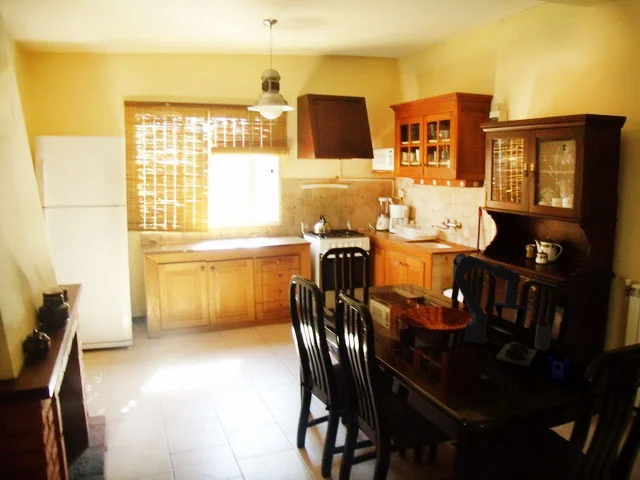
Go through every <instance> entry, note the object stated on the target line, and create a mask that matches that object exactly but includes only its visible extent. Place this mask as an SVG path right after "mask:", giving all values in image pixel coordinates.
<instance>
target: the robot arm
mask: <svg viewBox="0 0 640 480" xmlns="http://www.w3.org/2000/svg"><path fill="white" fill-rule="evenodd" d="M452 265H453V266H452V277H453V280H454V282H455V283H456V285H457V287H458V289H459V291H460V292H461V295H462V296H463V298H464V300H465V302H466V304H467V306H468V310H469V312H470V315H469V316H470V317H471V320H470V321H467V322H466V324H465V329H464V340H463V341H464V342H468V343H472V344H477V345H483V346H484V345H485V344H486V343H487V342H488V339H487V337H486V335H487V326H488V325H487V324H489V322H490V321H489V320H490V317H489V315H488V314H487V312H484V310H483V308H482V306H481V305H480V304H479V302H478V300H477V297H476V296H475V294H474V293H473V290H472V288H471V286H470V285H469V284H470V283H469V282H468V281H467V279H466V275H467V273H468V272H469V271H470V270H471V269H475V268H480V269H482V270H485V271H487V272H490V273H491V275H492V276H493V277H496V278H498V279H501V280H503V281H505V289H504V297H503V302H501V301H499V302H498V301H494V303H493V307H494V308H495V310H496V313H497V315H498V323H501V322H502V320H503V318H502V317H503V316H502V315H503V308H505V309H511V310H516V320H515V325H516V326H518V325H519V322H520V318H521V316H522V315H523V312H526V311H527V306H526V305H525V306H524V305H522V304H521V305H520V304H517V303H518V293H519V284H520V283H521V282H522V278H521V275H520V274H519V273H518V272H516V271H515V270H513V269H512V268H508V267H505V266H504V265H503V264H501V263H500V264H495V265H493V264H490V263H488V262H486V261H484V260H481V259H479V258H478V257H476V256H472V255H467V254H465V253H463V252H461V253H460V252H459V253H458V254H456V255H455V257H454V259H453V261H452Z"/></svg>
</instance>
